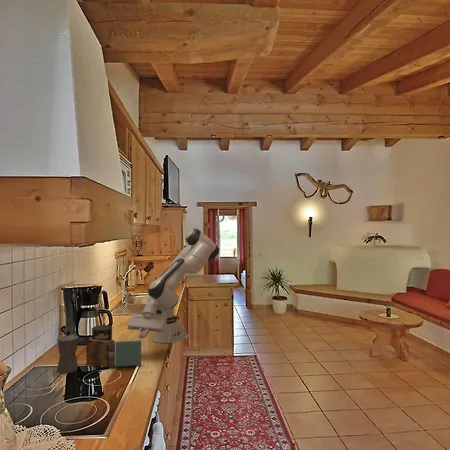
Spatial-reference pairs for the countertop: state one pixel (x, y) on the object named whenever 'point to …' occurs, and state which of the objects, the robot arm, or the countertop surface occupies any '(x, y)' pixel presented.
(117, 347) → the teal flat block
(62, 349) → the coffeepot
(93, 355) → the dark wooden block
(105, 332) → the coffee can
